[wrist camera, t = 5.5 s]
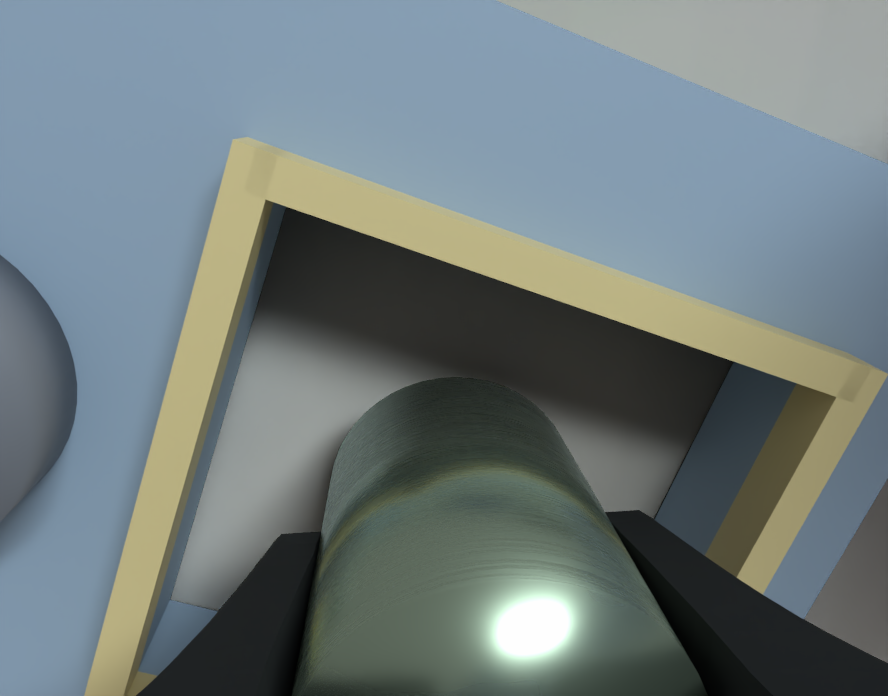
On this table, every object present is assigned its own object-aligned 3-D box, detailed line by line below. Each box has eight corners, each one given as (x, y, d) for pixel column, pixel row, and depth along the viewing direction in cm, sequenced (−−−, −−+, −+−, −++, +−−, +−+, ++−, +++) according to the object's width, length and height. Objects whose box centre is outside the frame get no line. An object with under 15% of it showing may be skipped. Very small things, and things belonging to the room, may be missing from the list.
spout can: (565, 362, 12) (745, 588, 6) (583, 651, 14) (740, 1065, 8) (311, 394, 12) (226, 662, 6) (361, 683, 14) (335, 1132, 8)
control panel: (946, 210, 13) (1129, 242, 10) (603, 827, 18) (652, 992, 14) (-228, -272, 10) (-535, -464, 7) (-300, 637, 14) (-508, 796, 11)
